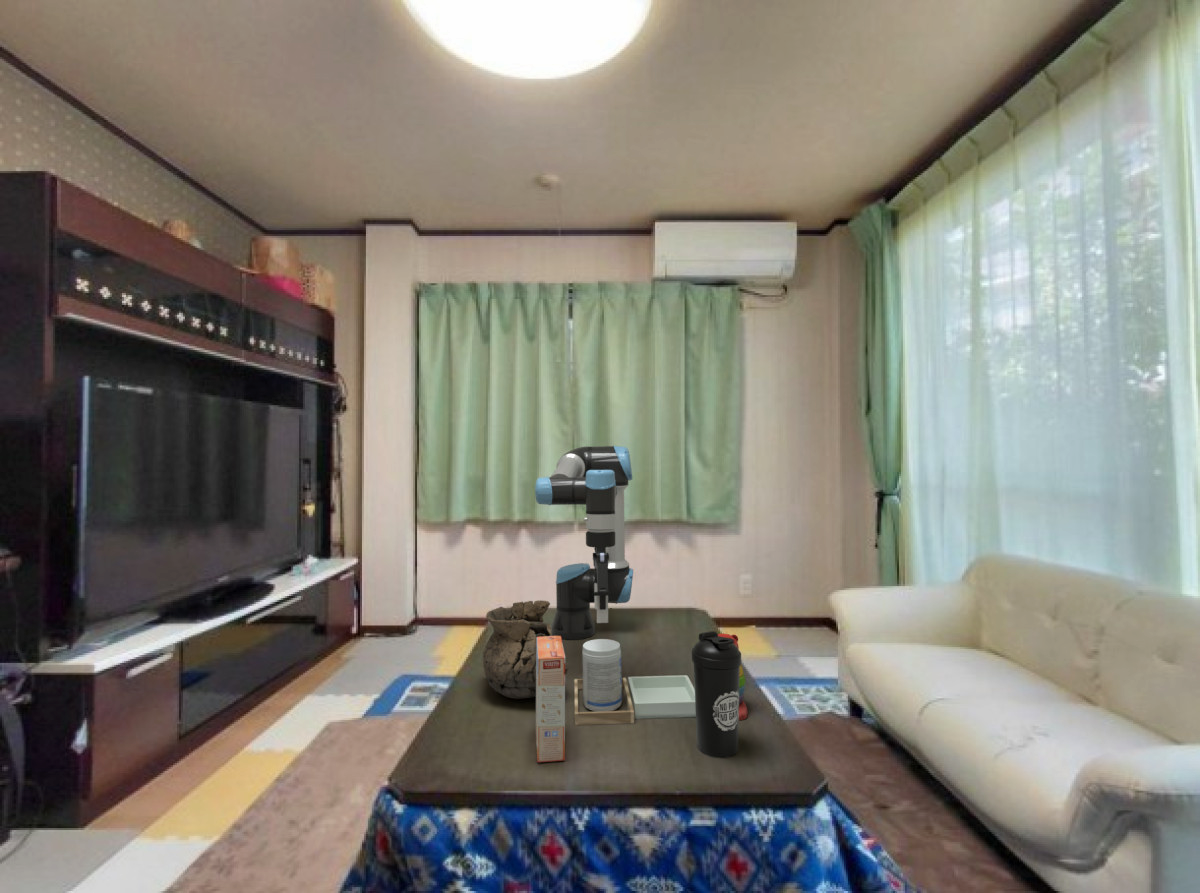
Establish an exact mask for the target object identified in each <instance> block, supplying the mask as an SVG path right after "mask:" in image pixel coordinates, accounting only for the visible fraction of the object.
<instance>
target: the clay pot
mask: <svg viewBox="0 0 1200 893" xmlns="http://www.w3.org/2000/svg"><path fill="white" fill-rule="evenodd" d="M550 605H551V602H550V601H549V600H543V599H542V600H541V599H540V600H535V601H533V600H528V601H519V602H517V601H516V602H513V603H512V606H511V607H510V609H507V608H505V607H504V606H499V607H497V608H493V609H491V610H489V611H488V612H487V613H486V615H485V617H486V619H487V621H488V622H489V623H490V624H491V626H492V629H493V631H492V632H493V633H491V635H490V637H489V639H488V641H487V643H486V644H485V648H484V650H483V652H482V662H483V673H484V675H485V677H486V678H485V680H486V682H487V683H488V685H489V686H490V687H491V688H492V689H493V690H494V692H496V693H499V694H501V695H502V696H504V697H507V698H510V699H514V700H520V699H521V700H522V699H530V698H536V638H537V637H544V636H553V635H552V626H551V625H550V624H549V623H548V622H544V619H543V617H544V615H545V614H546V612H547V611H548V610H549V608H550ZM568 670H569V668H568V667H567V664H565V676H566V675H567V673H568Z"/></svg>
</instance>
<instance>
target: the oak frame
mask: <svg viewBox="0 0 1200 893" xmlns="http://www.w3.org/2000/svg"><path fill="white" fill-rule="evenodd" d="M621 679H622V690H623V694H624V699H625V703H626V708H627V710H613V711H600V712H595V711H579V695H578V694H579V691H583V678H574V680H573V681H574V683H573V684H574V688H573V689H574V690H573V691H574V725H575V726H585V725H586V726H587V725H615V724H617V725H618V724H621V725H623V724H635V717H634V709H633V705H632V701H631V697H630V693H629V689H628V679H627V678H626V677H621Z"/></svg>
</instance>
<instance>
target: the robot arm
mask: <svg viewBox="0 0 1200 893" xmlns="http://www.w3.org/2000/svg"><path fill="white" fill-rule="evenodd" d="M630 457H631V456H630V450H629V449H628V448H627V447H626V446H619V445H608V446H606V445H605V446H600V445H599V446H588V445H587V446H579V447H577V448H574V449H571V450H570V451H567V452H566V453H564V454H563V455H561V457H559V458H558V460H557V462H556V465H555V466H556V469H555V470H554V471H553V472H552V474H551V476H545V477H538V478H537V479H536V482H535V484H534V486H535V487H534V496H535V501H536V503H537V504H539V505H548V506H552V505H553V506H554V505H555V506H557V505H558V506H560V505H561V506H562V505H563V506H565V505H568V506H569V505H570V506H571V505H572V506H573V505H577V506H579V505H580V506H583V505H585V516H586V517H585V516H584V517H583V521H584V522H585V529H586V530H587V531H586V532H585V546H587V547H590V548H594V549H593V550H594V552H592V562H593V567H594V568H591V565H590V564H589V563H587V562H586V563H583V562H582V563H574V564H568V565H564V566H561V567H560V568H558V569H557V572H556V580H555V584H556V588H555V590H556V595H555V596H556V610H555V611H556V612H555V615H554V618H553V622H552V625H551V635H552V636H561V639H562V640H581V639H586V638H589V637H592V636H594V634H596V624H595V622H594V618H593V616H592V612H591V604H594V609H595V610H596V623H597V624H607V623H608V624H609V604H615V605H617V604H625V603H628V602H629V601H630V599H631V594H632V587H633V578H634V569H633V568H631V567H630V563H629V562H628V560H626V555H625V553H626V552H625V551H626V550H625V547H626V546H625V543H626V542H625V490H626V489H627V487H629V481H632V480H633V478H634V477H633V471H632V463H631V458H630Z"/></svg>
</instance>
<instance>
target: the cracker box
mask: <svg viewBox="0 0 1200 893" xmlns="http://www.w3.org/2000/svg"><path fill="white" fill-rule="evenodd" d="M565 665H566V654H565V649H564V645H563V639H561V636H553V635H552V636H544V637H537V638H536V697H535V739H536V740H535V741H536V742H535V743H536V759H537V760H536V761H537V763H547V762H548V763H549V762H550V763H551V762H561V761H562V762H564V761H565V760H566V759H565V758H566V675H565V669H566V667H565Z"/></svg>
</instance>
